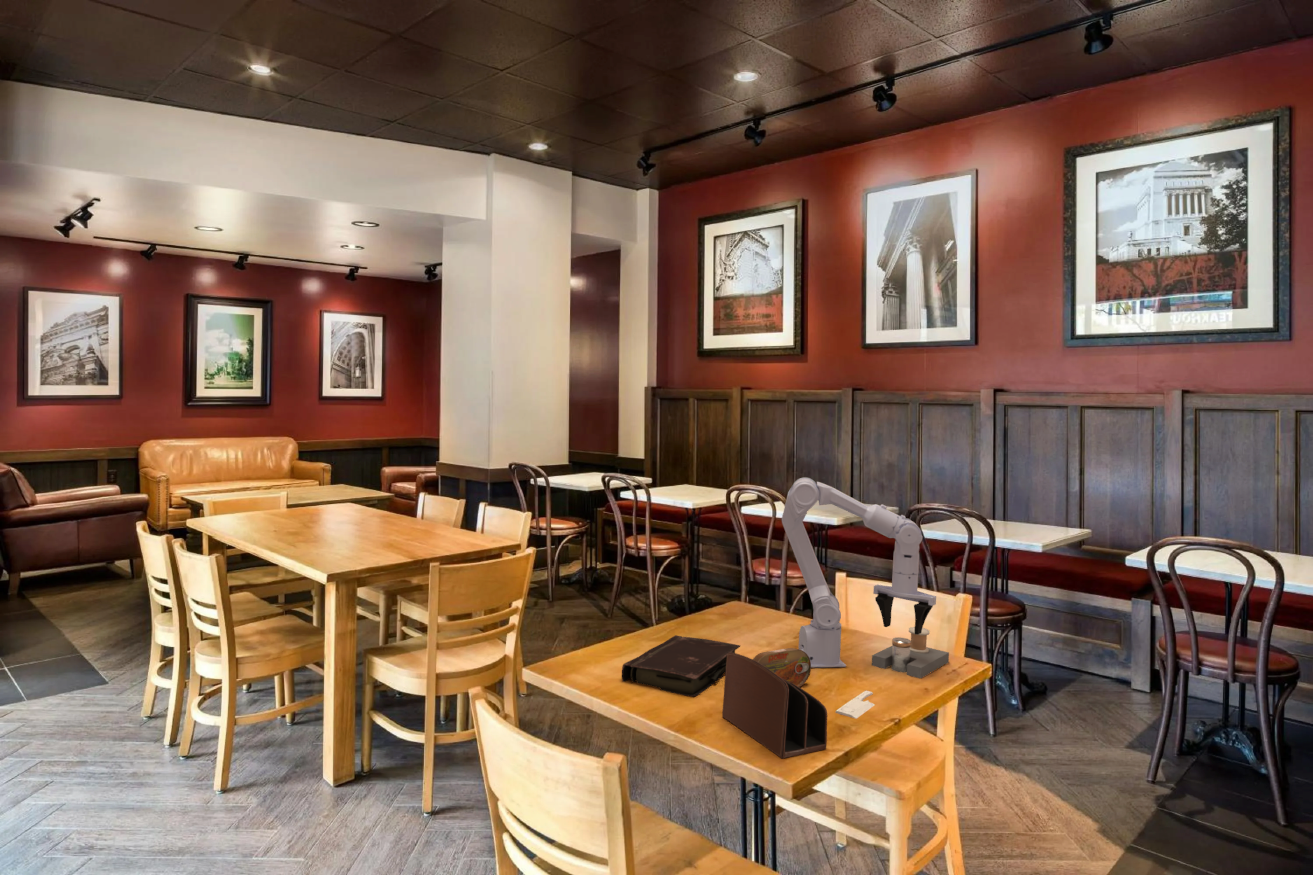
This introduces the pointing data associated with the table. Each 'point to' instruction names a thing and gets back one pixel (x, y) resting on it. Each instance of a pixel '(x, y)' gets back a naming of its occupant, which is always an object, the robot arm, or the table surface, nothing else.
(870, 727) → the table surface
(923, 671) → the notched board
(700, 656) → the diary
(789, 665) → the tin
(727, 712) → the letter holder
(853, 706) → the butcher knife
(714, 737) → the table surface
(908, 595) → the robot arm
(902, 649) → the peg
